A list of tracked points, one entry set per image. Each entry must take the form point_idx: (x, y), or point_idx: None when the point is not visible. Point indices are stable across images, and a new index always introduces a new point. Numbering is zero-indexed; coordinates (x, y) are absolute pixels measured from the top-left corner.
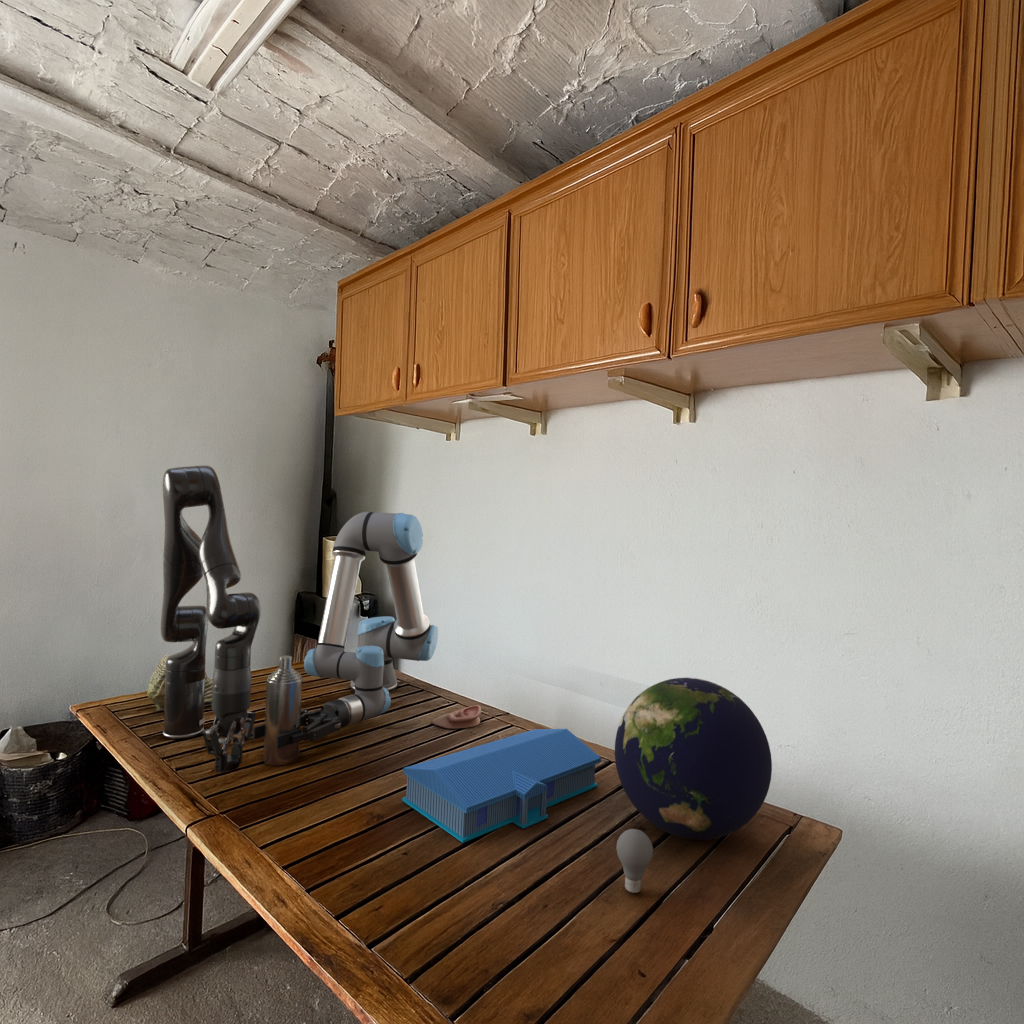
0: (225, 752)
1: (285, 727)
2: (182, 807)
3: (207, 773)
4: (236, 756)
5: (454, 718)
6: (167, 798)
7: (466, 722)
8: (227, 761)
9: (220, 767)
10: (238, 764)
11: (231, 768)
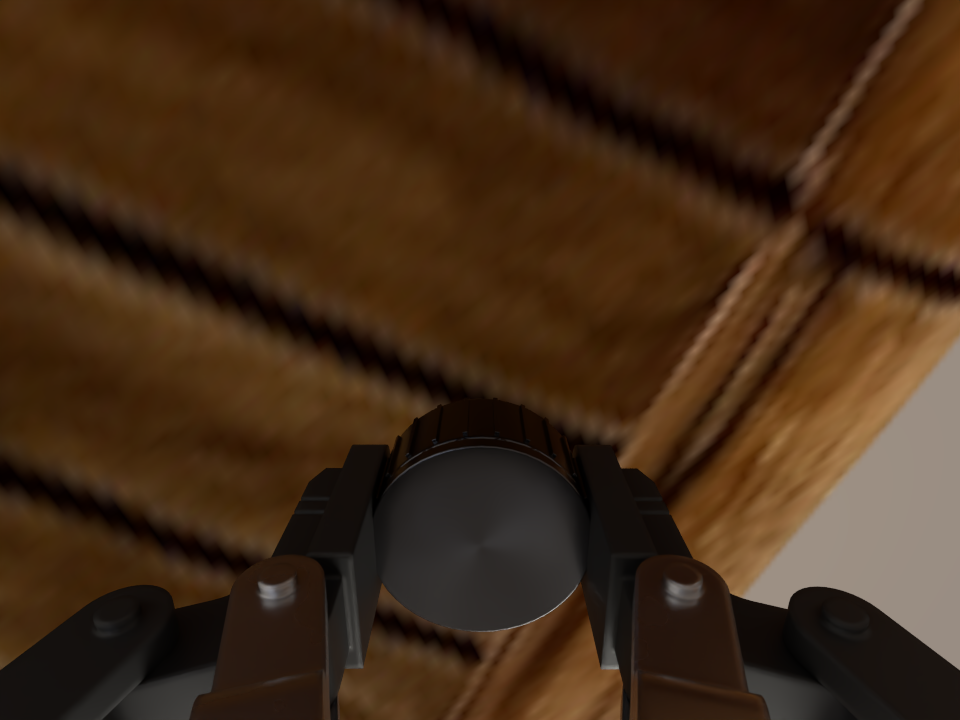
0: (695, 582)
1: None
2: (765, 489)
3: None
4: (411, 507)
5: None
6: None
7: None
8: (573, 504)
9: (656, 497)
10: (455, 414)
11: (543, 426)
